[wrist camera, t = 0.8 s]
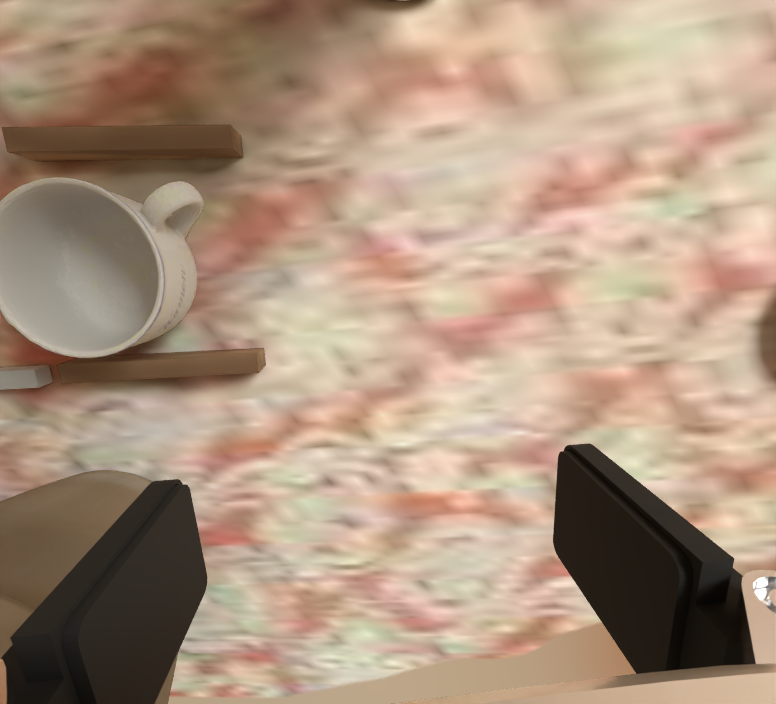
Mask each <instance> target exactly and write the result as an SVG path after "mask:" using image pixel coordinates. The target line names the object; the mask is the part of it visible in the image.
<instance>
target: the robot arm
mask: <svg viewBox="0 0 776 704" xmlns="http://www.w3.org/2000/svg"><path fill="white" fill-rule="evenodd" d="M398 1H409V0H398ZM553 543H554V548H555V551H556V554H557V555H558V557H559V559H560V560H561V562H562V563H563V565H564V566H565V568H566V569H567V571H568V572H569V574H570V575H571V577H572V578H573V579H574V581H575V582H576V584H577V585H578V587H579V588H580V590H581V591H582V593H583V594H584V596H585V597H586V599H587V600H588V602H589V603H590V605H591V606H592V608H593V609H594V611H595V612H596V614H597V615H598V617H599V618H600V620H601V621H602V623H603V624H604V626H605V627H606V629H607V630H608V632H609V633H610V635H611V636H612V638H613V639H614V640H615V642H616V644H617V645H618V647H619V648H620V650H621V651H622V653H623V654H624V656H625V657H626V659H627V660H628V662H629V663H630V665H631V666H632V668H633V669H634V671H635V672H636V674H631V675H623V676H614V677H607V678H598V679H589V680H581V681H572V682H565V683H556V684H547V685H539V686H531V687H522V688H514V689H506V690H497V691H490V692H481V693H473V694H465V695H458V696H449V697H441V698H434V699H425V700H418V701H409V702H402V703H393V704H776V571H772V570H755V571H750V572H748V573H746V574H745V575H744V576H742V575H741V574H739V573H738V572H737V571H736V570H735V569H733V563H734V558H733V557H731V556H730V555H729V554H728V553H726V552H725V551H724V550H723V549H721V548H720V547H719V546H718V545H717V544H715V543H714V542H713V541H712V540H710V539H709V538H708V537H707V536H705V535H704V534H703V533H702V532H700V531H699V530H698V529H697V528H695V527H694V526H693V525H692V524H690V523H689V522H688V521H687V520H685V519H684V518H683V517H682V516H680V515H679V514H678V513H677V512H675V511H674V510H673V509H672V508H670V507H669V506H668V505H667V504H665V503H664V502H663V501H662V500H661V499H659V498H658V497H657V496H656V495H654V494H653V493H652V492H651V491H649V490H648V489H647V488H646V487H644V486H643V485H642V484H641V483H639V482H638V481H637V480H636V479H634V478H633V477H632V476H631V475H629V474H628V473H627V472H626V471H624V470H623V469H622V468H621V467H619V466H618V465H617V464H616V463H614V462H613V461H612V460H611V459H609V458H608V457H607V456H606V455H604V454H603V453H602V452H601V451H600V450H598V449H597V448H596V447H595V446H593V445H592V444H578V445H568V446H566V447H565V449H564V451H563V452H560V453H559V456H558V469H557V485H556V501H555V518H554V534H553ZM206 586H207V573H206V568H205V563H204V558H203V553H202V548H201V543H200V538H199V533H198V528H197V523H196V518H195V513H194V508H193V503H192V498H191V493H190V489H189V487H188V485H182V482H181V481H180V480H178V479H175V480H164V481H154V482H151V483H150V484H149V485H148V486H147V487H146V488H145V490H144V491H143V492H142V493H141V494H140V495H139V496H138V497H137V498H136V499H135V501H134V502H133V503H132V504H131V505H130V506H129V507H128V508H127V509H126V510H125V512H124V513H123V514H122V515H121V516H120V517H119V518H118V519H117V520H116V521H115V523H114V524H113V525H112V526H111V527H110V528H109V529H108V530H107V531H106V532H105V534H104V535H103V536H102V537H101V538H100V539H99V540H98V541H97V542H96V543H95V545H94V546H93V547H92V548H91V549H90V550H89V551H88V552H87V553H86V554H85V556H84V557H83V558H82V559H81V560H80V561H79V562H78V563H77V564H76V565H75V567H74V568H73V569H72V570H71V571H70V572H69V573H68V574H67V575H66V576H65V578H64V579H63V580H62V581H61V582H60V583H59V584H58V585H57V586H56V587H55V589H54V590H53V591H52V592H51V593H50V594H49V595H48V596H47V597H46V599H45V600H44V601H43V602H42V603H41V604H40V605H39V606H38V607H37V608H36V610H35V611H34V612H33V613H32V614H31V615H30V616H29V617H28V618H27V619H26V621H25V622H24V623H23V624H22V625H21V626H20V627H19V628H18V629H17V630H16V632H15V633H14V634H13V635H12V636H11V637H10V639H11V642H12V644H13V645H12V646H11V647H10V648H9V649H8V650H7V652H6V653H5V654H4V655H3V656H2V657H1V658H0V704H155V702H156V700H157V697H158V695H159V693H160V691H161V689H162V686H163V684H164V682H165V680H166V678H167V675H168V673H169V671H170V669H171V666H172V664H173V662H174V660H175V658H176V655H177V653H178V651H179V649H180V647H181V644H182V642H183V640H184V638H185V635H186V633H187V631H188V629H189V627H190V624H191V622H192V620H193V618H194V615H195V613H196V611H197V609H198V607H199V604H200V602H201V600H202V598H203V596H204V593H205V590H206Z"/></svg>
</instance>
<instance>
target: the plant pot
mask: <svg viewBox="0 0 776 704" xmlns="http://www.w3.org/2000/svg"><path fill="white" fill-rule="evenodd" d="M151 482H152V481H150V480H148V479H145V478H142V477H140V476H137V475H134V474H130V473H125V472H119V471H108V470H102V471H91V472H85V473H81V474H78V475H74V476H71V477H68V478H65V479H62V480H59V481H56V482H53V483H50V484H47V485H44V486H41V487H38V488H36V489H33V490H30V491H27V492H25V493H22V494H19V495H17V496H14V497H11V498H9V499H6V500H3V501H1V502H0V658H1V657H2V656H3V655H4V654H5V653H6V652H7V650H8V649H9V648H10V647H11V646H12V645H13V644H12V642H11V639H10V637H11V636H12V635H13V634H14V633H15V632H16V630H17V629H18V628H19V627H20V626H21V625H22V624H23V623H24V622H25V621H26V619H27V618H28V617H29V616H30V615H31V614H32V613H33V612H34V611H35V610H36V608H37V607H38V606H39V605H40V604H41V603H42V602H43V601H44V600H45V599H46V597H47V596H48V595H49V594H50V593H51V592H52V591H53V590H54V589H55V587H56V586H57V585H58V584H59V583H60V582H61V581H62V580H63V579H64V578H65V576H66V575H67V574H68V573H69V572H70V571H71V570H72V569H73V568H74V567H75V565H76V564H77V563H78V562H79V561H80V560H81V559H82V558H83V557H84V556H85V554H86V553H87V552H88V551H89V550H90V549H91V548H92V547H93V546H94V545H95V543H96V542H97V541H98V540H99V539H100V538H101V537H102V536H103V535H104V534H105V532H106V531H107V530H108V529H109V528H110V527H111V526H112V525H113V524H114V523H115V521H116V520H117V519H118V518H119V517H120V516H121V515H122V514H123V513H124V512H125V510H126V509H127V508H128V507H129V506H130V505H131V504H132V503H133V502H134V501H135V499H136V498H137V497H138V496H139V495H140V494H141V493H142V492H143V491H144V490H145V488H146V487H147V486H148V485H149V484H150V483H151ZM177 655H178V653H177ZM177 655H176V658H175V660H174V662H173V664H172V666H171V669H170V671H169V673H168V675H167V678H166V680H165V682H164V684H163V686H162V689H161V691H160V693H159V695H158V697H157V700H156V702H155V704H168V700H169V695H170V690H171V686H172V681H173V676H174V671H175V666H176V661H177Z"/></svg>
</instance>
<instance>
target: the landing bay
mask: <svg viewBox="0 0 776 704" xmlns="http://www.w3.org/2000/svg"><path fill="white" fill-rule="evenodd" d="M52 382H53V380H52V375H51V371H50V367H49V365H34V366H15V367H0V390H5V389H23V388H39V387H42V386H44V385H47V384H50V383H52Z"/></svg>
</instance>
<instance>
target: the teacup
mask: <svg viewBox="0 0 776 704" xmlns="http://www.w3.org/2000/svg"><path fill="white" fill-rule="evenodd" d="M203 207H204V202H203V199H202V197H201V195H200V193H199V192H198V191H197V190H196V189H195V188H194V187H193V186H192V185H191V184H189V183H186V182H183V181H177V182H170V183H168V184H165V185H163V186H161V187H159V188H158V189H156V190H155V191H154V192H153V193H152V194H150V195H149V196H148V197H147V199H146V200H145V202H144V203H143V204H141V203H139V202H136V201H134V200H131V199H129V198H127V197H124V196H121V195H118V194H115V193H112V192H109V191H107V190H105V189H104V188H102V187H100V186H98V185H95V184H92V183H90V182H87V181H83V180H78V179H74V178H64V177H52V178H44V179H39V180H36V181H33V182H30V183H27V184H24V185H21V186H20V187H18V188H16V189H15V190H13V191H11V192H10V193H9V194H8V195H6V196H5V197H4V198H3V199H2V200H1V201H0V311H1V313H2V315H3V316H4V318H5V319H6V320H7V322H8V323H9V324H11V325H12V326H13V327H14V328H15V329H16V330H17V331H18V332H19V333H21V334H22V335H23V336H24V337H26V338H27V339H28V340H30V341H31V342H33V343H35V344H37V345H38V346H40V347H42V348H44V349H46V350H48V351H51V352H54V353H57V354H60V355H65V356H69V357H78V358H94V357H103V356H109V355H112V354H115V353H118V352H120V351H123V350H125V349H127V348H129V347H132V346H135V345H139V344H141V343H144V342H147V341H150V340H152V339H155V338H157V337H159V336H161V335H163V334H165V333H166V332H168V331H169V330H171V329H172V328H174V327H175V326H176V325H177V324H178V323H179V322H180V321H181V320H182V319H183V318H184V317H185V315H186V314H187V312H188V310H189V309H190V307H191V305H192V303H193V300H194V297H195V293H196V288H197V270H196V264H195V261H194V258H193V255H192V252H191V250H190V248H189V246H188V244H187V242H186V241H185V237H186V236H187V235H188V232H189V229H190V228H191V227H192V226H193V224H194V223H195V221H196V220H197V219H198V217H199V216H200V214H201V212H202V210H203ZM171 214H172V215H171ZM170 215H171V216H170ZM169 216H170V217H169ZM168 217H169V218H168ZM167 218H168V219H167Z"/></svg>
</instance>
